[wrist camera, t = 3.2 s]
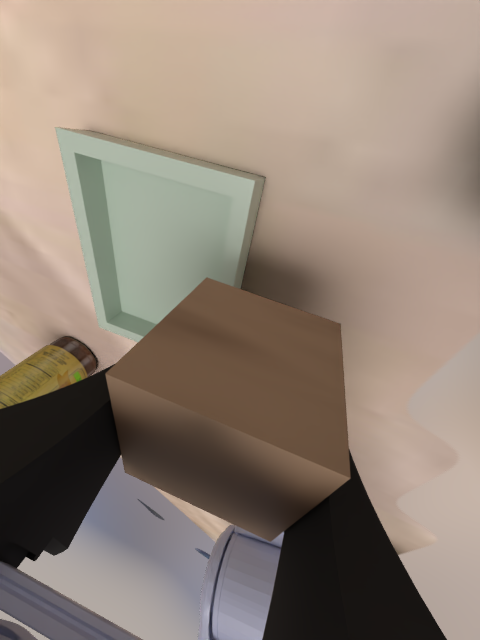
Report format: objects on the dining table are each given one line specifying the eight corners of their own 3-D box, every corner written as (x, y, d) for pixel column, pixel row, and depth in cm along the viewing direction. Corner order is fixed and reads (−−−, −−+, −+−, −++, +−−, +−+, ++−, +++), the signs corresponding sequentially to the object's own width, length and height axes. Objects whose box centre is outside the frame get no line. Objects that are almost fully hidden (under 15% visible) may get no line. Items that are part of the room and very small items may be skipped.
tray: (226, 353, 23) (216, 372, 21) (117, 313, 25) (99, 327, 23) (265, 177, 14) (254, 180, 12) (90, 130, 16) (55, 127, 14)
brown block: (291, 406, 13) (270, 542, 9) (194, 367, 14) (125, 472, 9) (340, 324, 10) (350, 478, 5) (206, 277, 11) (105, 373, 6)
